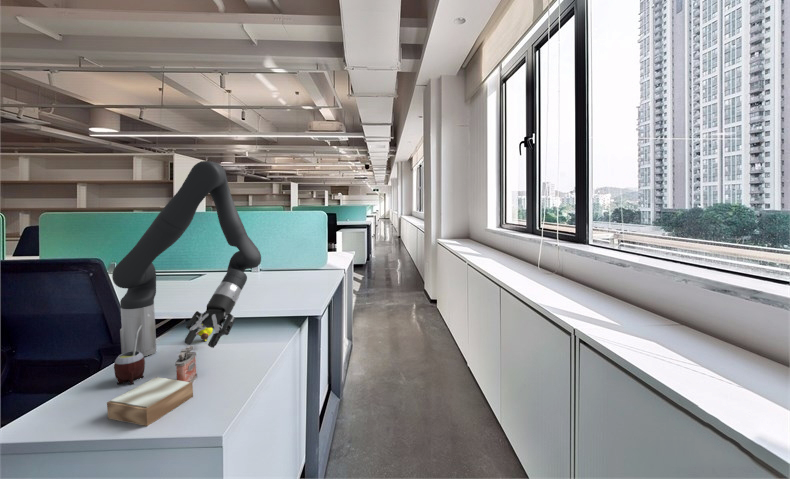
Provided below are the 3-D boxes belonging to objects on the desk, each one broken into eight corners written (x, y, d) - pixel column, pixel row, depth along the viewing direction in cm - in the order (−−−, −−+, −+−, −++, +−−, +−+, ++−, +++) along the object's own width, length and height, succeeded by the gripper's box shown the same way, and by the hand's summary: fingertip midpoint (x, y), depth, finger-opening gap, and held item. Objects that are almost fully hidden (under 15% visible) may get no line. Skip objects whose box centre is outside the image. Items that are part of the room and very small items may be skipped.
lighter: (185, 389, 96) (184, 354, 95) (173, 389, 96) (171, 355, 95) (200, 375, 104) (198, 343, 103) (188, 375, 104) (186, 343, 103)
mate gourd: (116, 389, 96) (113, 337, 94) (113, 379, 101) (110, 330, 100) (149, 380, 101) (146, 331, 99) (144, 371, 106) (142, 324, 105)
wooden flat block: (108, 418, 82) (106, 401, 82) (157, 390, 95) (156, 375, 95) (147, 426, 79) (146, 408, 79) (193, 396, 92) (192, 381, 92)
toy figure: (198, 334, 138) (197, 317, 138) (213, 332, 141) (212, 316, 140) (195, 350, 122) (194, 332, 122) (212, 347, 125) (212, 329, 124)
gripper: (200, 291, 113) (171, 337, 102) (237, 293, 109) (211, 342, 99) (213, 303, 118) (187, 348, 108) (248, 305, 115) (225, 352, 105)
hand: (198, 345), depth 103 cm, fingers open, 8 cm apart
